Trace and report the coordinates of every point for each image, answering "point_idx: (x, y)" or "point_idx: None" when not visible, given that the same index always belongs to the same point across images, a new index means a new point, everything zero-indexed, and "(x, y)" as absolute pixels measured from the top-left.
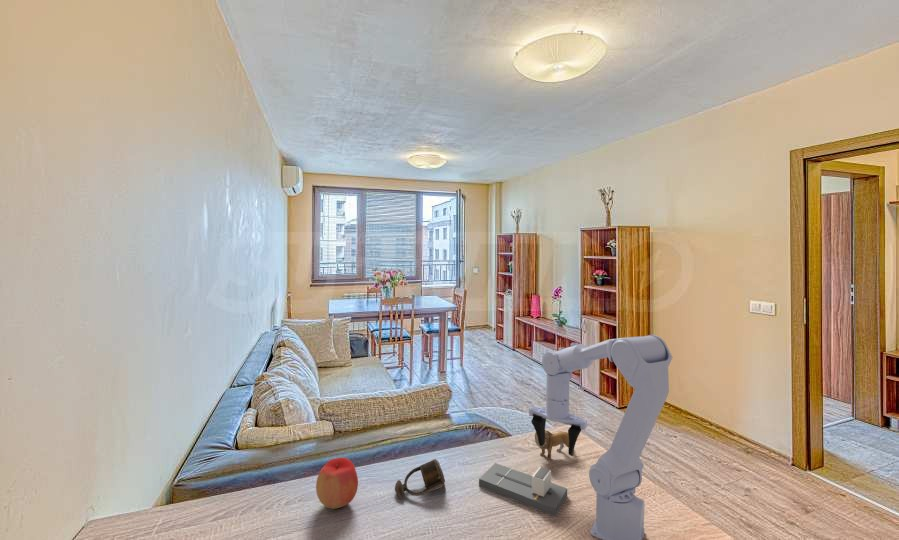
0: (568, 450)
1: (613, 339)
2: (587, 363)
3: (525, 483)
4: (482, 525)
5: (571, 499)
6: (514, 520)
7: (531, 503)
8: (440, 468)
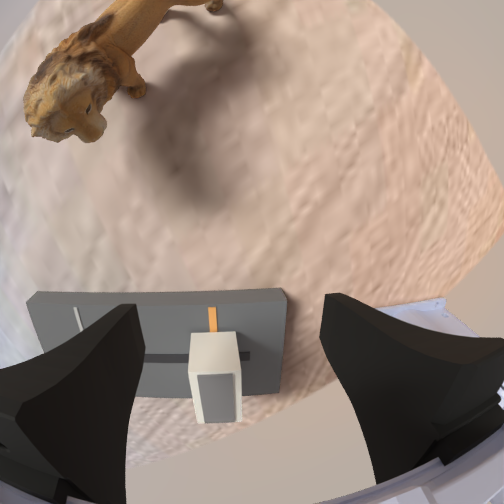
0: (328, 359)
1: None
2: None
3: (157, 355)
4: (163, 448)
5: (296, 293)
6: (201, 423)
7: None
8: None
